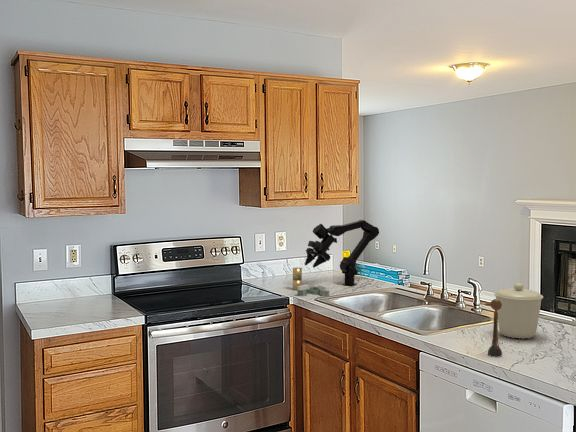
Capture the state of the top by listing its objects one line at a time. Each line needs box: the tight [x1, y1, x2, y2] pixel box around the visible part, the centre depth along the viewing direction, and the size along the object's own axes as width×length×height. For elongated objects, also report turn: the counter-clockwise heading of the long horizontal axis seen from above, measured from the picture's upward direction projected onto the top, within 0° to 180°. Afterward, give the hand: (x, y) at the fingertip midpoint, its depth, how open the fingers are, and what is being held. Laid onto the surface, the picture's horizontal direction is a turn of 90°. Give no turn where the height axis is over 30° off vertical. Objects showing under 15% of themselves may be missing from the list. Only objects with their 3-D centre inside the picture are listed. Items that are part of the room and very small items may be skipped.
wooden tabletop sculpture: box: [485, 298, 503, 357], centre depth 214 cm, size 6×5×20 cm
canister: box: [494, 282, 544, 340], centre depth 239 cm, size 18×18×21 cm
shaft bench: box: [296, 283, 330, 297], centre depth 322 cm, size 18×17×5 cm
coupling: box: [292, 267, 303, 292], centre depth 336 cm, size 5×5×12 cm
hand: (309, 266), depth 338 cm, fingers open, 9 cm apart
